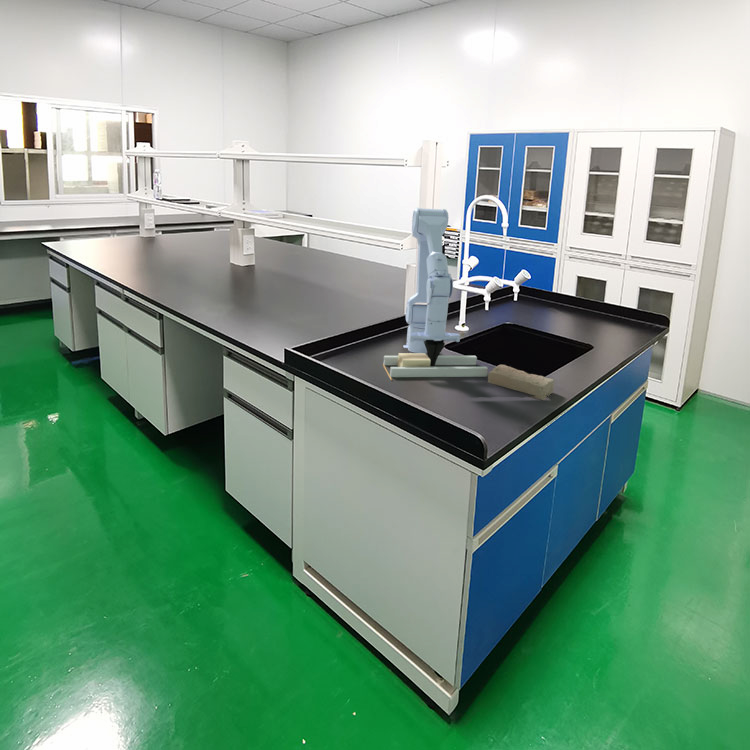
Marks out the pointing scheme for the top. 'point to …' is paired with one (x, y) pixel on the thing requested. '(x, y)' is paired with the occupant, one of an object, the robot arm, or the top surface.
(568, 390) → the top surface
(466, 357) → the chute
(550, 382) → the brick
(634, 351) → the top surface
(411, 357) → the block
